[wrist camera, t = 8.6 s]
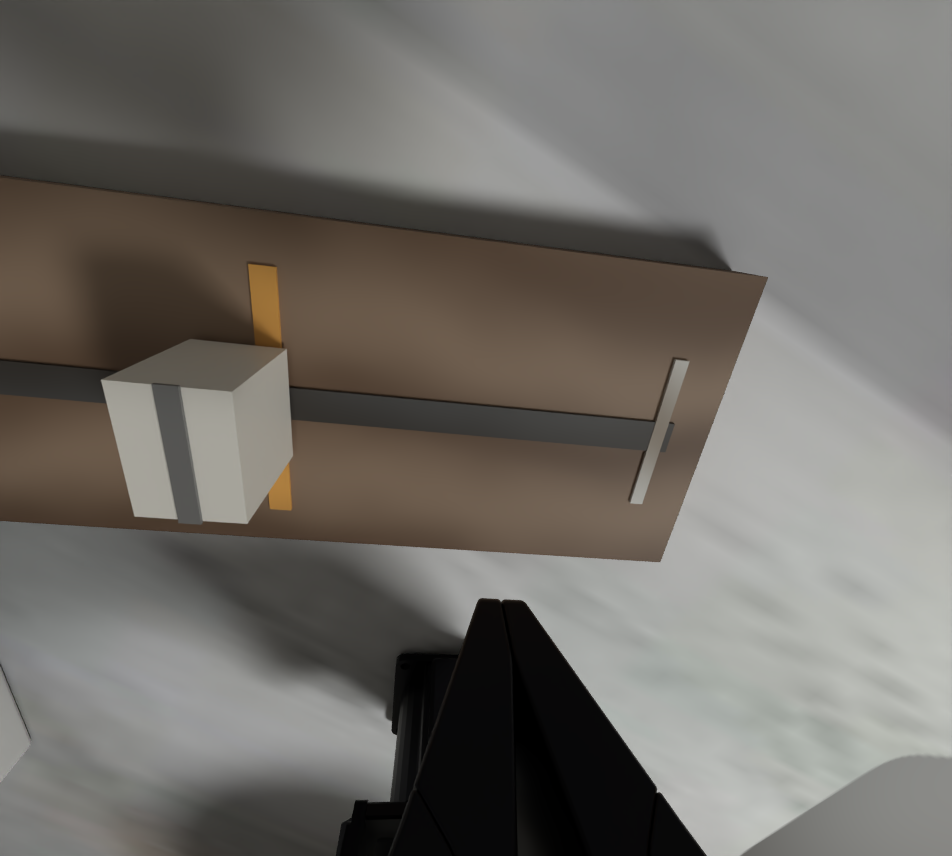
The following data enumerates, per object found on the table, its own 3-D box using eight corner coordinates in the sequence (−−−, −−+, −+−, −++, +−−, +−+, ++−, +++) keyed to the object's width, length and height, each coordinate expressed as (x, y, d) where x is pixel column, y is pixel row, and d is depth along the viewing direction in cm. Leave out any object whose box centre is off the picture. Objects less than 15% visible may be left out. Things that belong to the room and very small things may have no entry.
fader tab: (293, 457, 16) (245, 527, 12) (206, 450, 16) (132, 520, 12) (286, 347, 14) (229, 391, 11) (189, 337, 14) (97, 378, 10)
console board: (642, 533, 21) (661, 564, 19) (-102, 481, 18) (-167, 512, 16) (733, 271, 16) (770, 277, 14) (-271, 139, 13) (-394, 126, 11)
